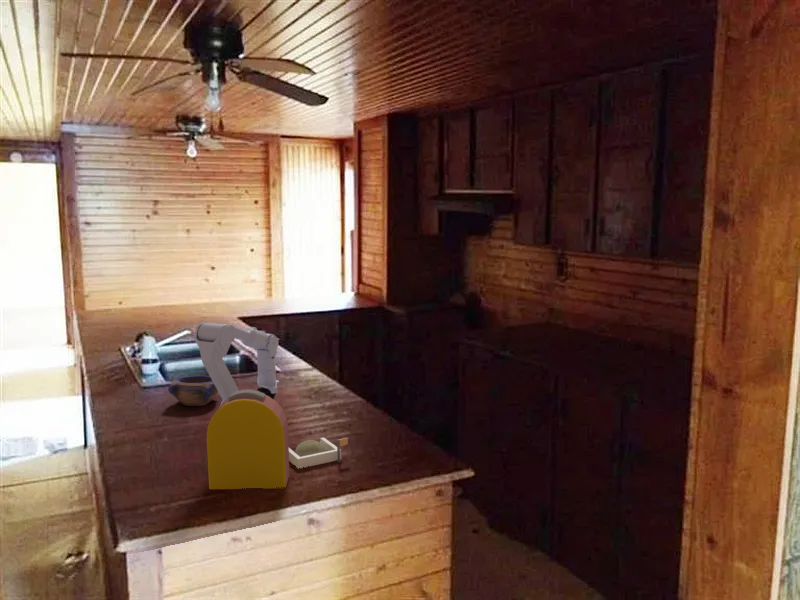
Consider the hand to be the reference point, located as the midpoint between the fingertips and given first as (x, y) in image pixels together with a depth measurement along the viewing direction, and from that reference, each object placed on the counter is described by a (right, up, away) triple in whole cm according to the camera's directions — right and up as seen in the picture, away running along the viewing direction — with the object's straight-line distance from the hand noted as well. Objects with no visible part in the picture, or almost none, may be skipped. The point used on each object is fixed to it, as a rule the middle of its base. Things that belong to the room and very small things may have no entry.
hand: (267, 409), depth 223 cm
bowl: (-35, -4, +38) cm, 52 cm away
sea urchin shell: (+16, -12, -16) cm, 26 cm away
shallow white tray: (+18, -12, -17) cm, 27 cm away
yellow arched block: (+2, -15, -34) cm, 37 cm away
